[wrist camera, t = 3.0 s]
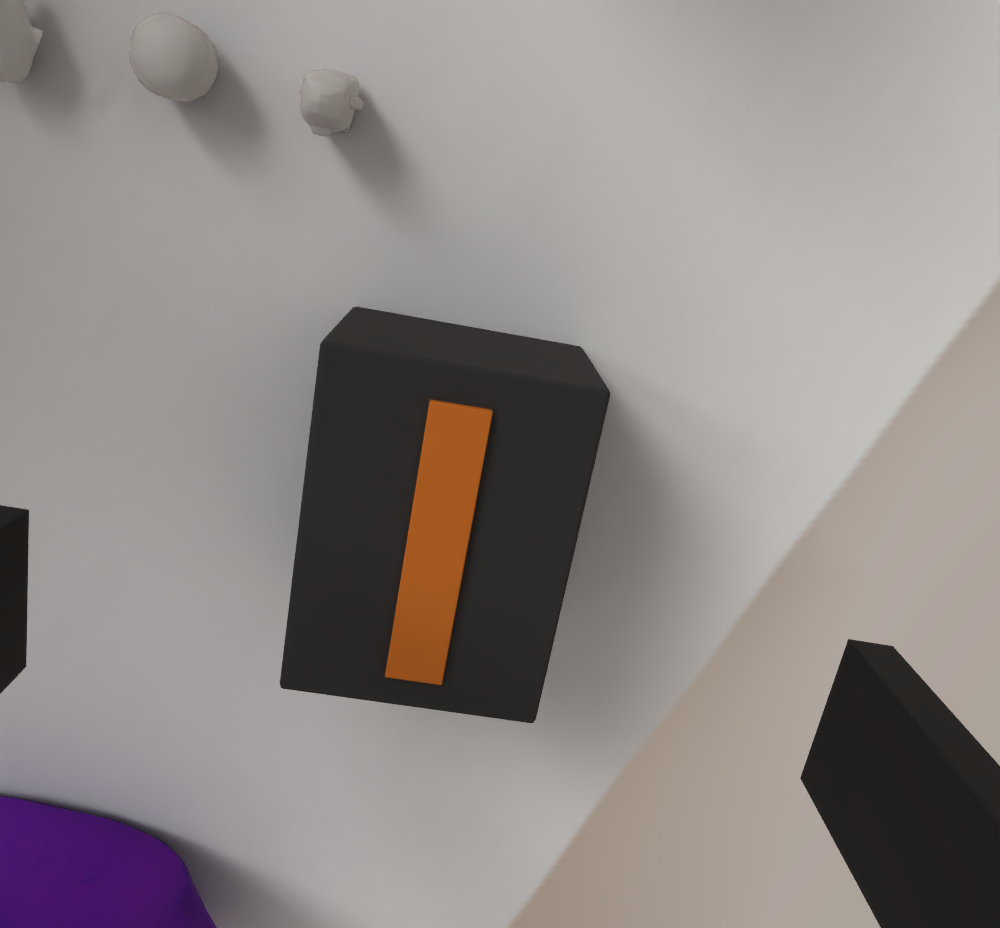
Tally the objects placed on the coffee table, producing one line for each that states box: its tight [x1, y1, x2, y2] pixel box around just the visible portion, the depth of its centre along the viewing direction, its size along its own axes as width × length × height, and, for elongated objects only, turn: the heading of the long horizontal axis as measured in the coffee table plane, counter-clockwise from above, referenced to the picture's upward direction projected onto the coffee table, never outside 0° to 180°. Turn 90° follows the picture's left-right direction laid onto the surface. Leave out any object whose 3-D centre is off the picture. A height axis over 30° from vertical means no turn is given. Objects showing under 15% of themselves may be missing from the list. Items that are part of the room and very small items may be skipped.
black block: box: [280, 307, 610, 723], centre depth 19 cm, size 8×6×5 cm
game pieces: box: [0, 0, 364, 136], centre depth 17 cm, size 8×2×2 cm, turn 76°
